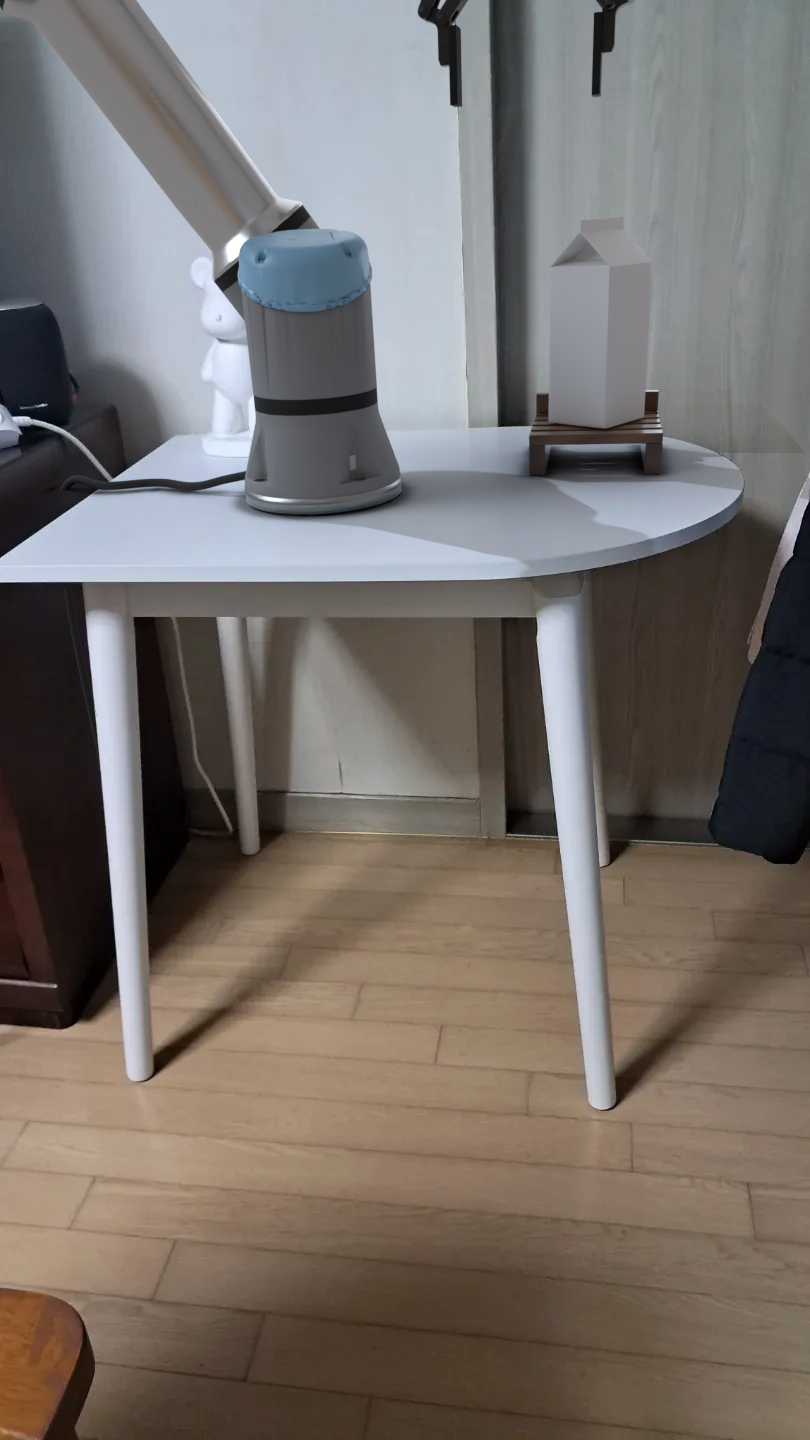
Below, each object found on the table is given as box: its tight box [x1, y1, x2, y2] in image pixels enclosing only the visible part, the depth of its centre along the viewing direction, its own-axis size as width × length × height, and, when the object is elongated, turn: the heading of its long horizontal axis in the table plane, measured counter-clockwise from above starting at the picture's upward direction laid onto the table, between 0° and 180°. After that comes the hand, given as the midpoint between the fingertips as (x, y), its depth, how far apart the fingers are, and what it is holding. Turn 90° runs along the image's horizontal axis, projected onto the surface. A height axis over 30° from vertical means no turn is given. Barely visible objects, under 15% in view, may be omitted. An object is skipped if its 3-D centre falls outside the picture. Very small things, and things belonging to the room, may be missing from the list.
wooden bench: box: [528, 389, 664, 476], centre depth 108 cm, size 13×13×6 cm
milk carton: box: [548, 216, 653, 429], centre depth 103 cm, size 7×7×19 cm
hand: (525, 101), depth 100 cm, fingers open, 13 cm apart
